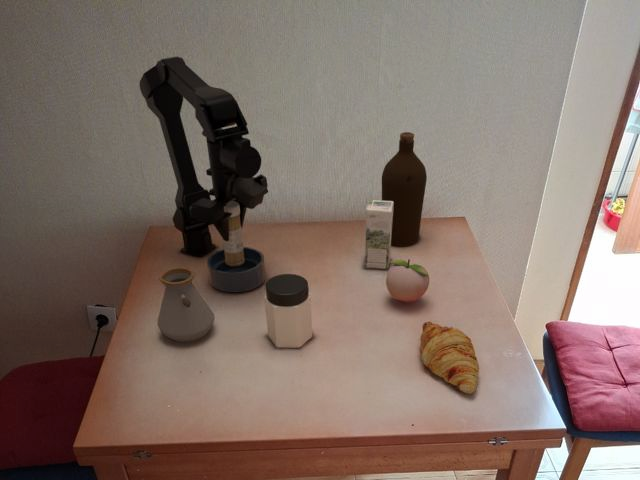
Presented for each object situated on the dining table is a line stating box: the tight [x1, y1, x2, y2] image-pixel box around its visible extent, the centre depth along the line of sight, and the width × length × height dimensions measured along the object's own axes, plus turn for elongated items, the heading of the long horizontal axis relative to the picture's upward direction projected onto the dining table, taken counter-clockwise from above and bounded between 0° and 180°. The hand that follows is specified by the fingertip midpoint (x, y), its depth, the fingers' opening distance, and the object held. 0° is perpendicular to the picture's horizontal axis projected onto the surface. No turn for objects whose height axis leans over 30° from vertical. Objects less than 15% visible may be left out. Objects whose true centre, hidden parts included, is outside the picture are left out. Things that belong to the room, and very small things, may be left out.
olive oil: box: [381, 131, 428, 247], centre depth 147 cm, size 11×11×25 cm
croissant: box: [419, 321, 480, 394], centre depth 113 cm, size 21×10×8 cm, turn 16°
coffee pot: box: [157, 267, 215, 343], centre depth 117 cm, size 21×12×15 cm, turn 18°
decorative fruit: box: [385, 259, 430, 303], centre depth 129 cm, size 9×8×10 cm
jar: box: [263, 273, 313, 349], centre depth 119 cm, size 9×8×12 cm
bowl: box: [206, 246, 267, 293], centre depth 139 cm, size 13×13×5 cm
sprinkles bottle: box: [221, 201, 245, 266], centre depth 134 cm, size 5×5×14 cm
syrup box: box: [364, 199, 394, 271], centre depth 140 cm, size 6×6×14 cm
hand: (232, 236), depth 134 cm, fingers closed on sprinkles bottle, 4 cm apart
